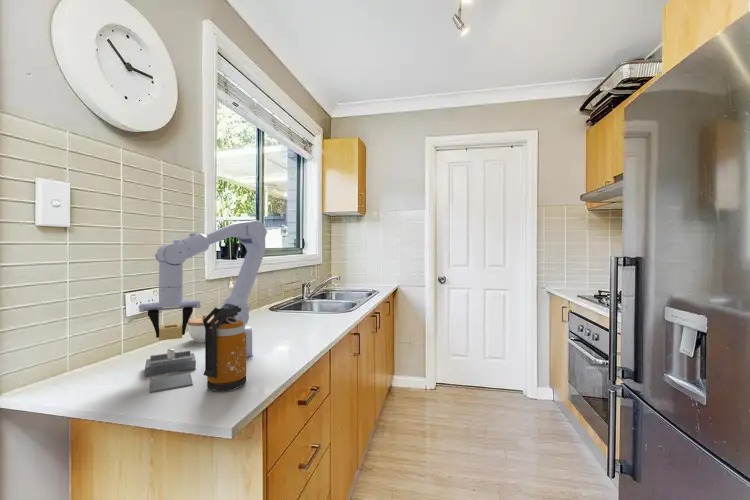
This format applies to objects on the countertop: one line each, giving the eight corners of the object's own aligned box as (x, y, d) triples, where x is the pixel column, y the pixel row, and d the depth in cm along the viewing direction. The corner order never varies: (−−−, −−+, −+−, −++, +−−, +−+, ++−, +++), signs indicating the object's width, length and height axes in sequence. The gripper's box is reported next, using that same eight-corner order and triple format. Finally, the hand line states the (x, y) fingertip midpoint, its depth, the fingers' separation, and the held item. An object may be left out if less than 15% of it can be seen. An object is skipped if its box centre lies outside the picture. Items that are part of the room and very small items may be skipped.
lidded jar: (198, 346, 121) (198, 319, 121) (181, 341, 127) (181, 316, 127) (225, 339, 130) (225, 314, 130) (209, 335, 136) (209, 311, 136)
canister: (253, 381, 89) (254, 304, 89) (221, 399, 79) (222, 311, 78) (225, 377, 92) (226, 302, 92) (191, 393, 81) (191, 309, 81)
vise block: (193, 361, 105) (193, 343, 105) (195, 369, 98) (195, 349, 98) (146, 368, 99) (146, 349, 99) (145, 377, 92) (145, 356, 92)
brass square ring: (181, 333, 100) (181, 323, 100) (182, 338, 96) (182, 327, 96) (159, 336, 97) (159, 325, 97) (159, 340, 93) (159, 329, 93)
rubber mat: (190, 374, 94) (190, 372, 94) (192, 385, 87) (192, 383, 87) (151, 380, 90) (151, 378, 90) (149, 392, 82) (149, 391, 82)
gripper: (199, 284, 103) (199, 329, 104) (140, 286, 96) (140, 335, 96) (200, 286, 97) (200, 334, 97) (138, 289, 90) (138, 341, 90)
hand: (170, 335), depth 96 cm, fingers closed on brass square ring, 5 cm apart
